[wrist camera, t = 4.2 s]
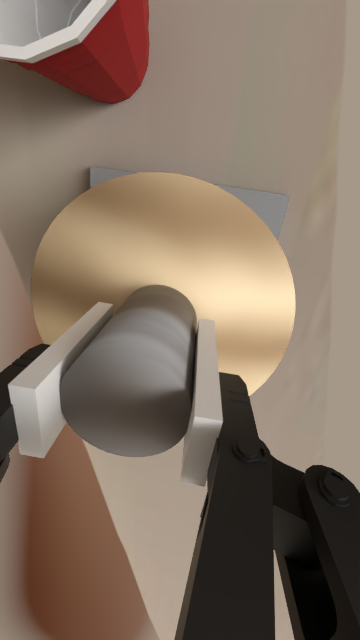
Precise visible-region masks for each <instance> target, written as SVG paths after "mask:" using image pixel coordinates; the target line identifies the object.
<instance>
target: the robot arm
mask: <svg viewBox="0 0 360 640" xmlns="http://www.w3.org/2000/svg"><path fill="white" fill-rule="evenodd" d="M112 316H113V304H109V303H103V302H98V303H97V304H96V305H94V306H93V307H92V308H91V309H90V310H89V311H88V312H87V313H86V314H85V315H84V316H82V317H81V318H80V319H79V320H78V321H77V322H76V323H75V324H74V325H73V326H71V327H70V328H69V329H68V330H67V331H66V332H65V333H64V334H63V335H62V336H61V337H59V338H58V339H57V340H56V341H55V342H54V343H53V344H52V345H48V344H40V345H38V346H35V347H33V348H31V349H29V350H27V351H26V352H25V353H24V354H23V355H21V356H20V358H19V359H16V360H15V361H14V362H13V363H12V365H9V366H8V367H7V368H6V369H4V370H3V371H2V372H1V373H0V482H1V481H2V478H3V476H4V475H5V472H6V470H7V468H8V465H9V462H10V458H9V452H10V450H11V449H12V448H13V447H14V445H15V444H16V443H17V442H18V446H19V451H20V454H23V455H29V456H34V457H40V458H44V457H45V455H46V453H47V452H48V450H49V449H50V447H51V446H52V444H53V442H54V441H55V439H56V437H57V436H58V434H59V433H60V431H61V430H62V428H63V427H64V425H65V424H66V422H67V421H66V420H65V418H64V416H63V414H62V412H61V406H60V392H59V387H60V383H61V381H62V378H63V377H64V375H65V373H66V372H67V371H68V369H69V368H70V367H71V366H72V365H73V363H74V362H75V361H76V360H77V359H78V357H79V356H80V355H81V354H82V352H83V351H84V350H85V349H86V348H87V346H88V345H89V344H90V343H91V342H92V340H93V339H94V338H95V337H96V336H97V334H98V333H99V332H100V331H101V330H102V328H103V327H104V326H105V325H106V324H107V322H108V321H109V320H110V319H111V317H112ZM206 480H207V482H208V492H207V495H206V499H205V502H204V506H203V509H202V513H201V516H200V517H201V521H200V525H199V530H198V534H197V539H196V544H195V548H194V553H193V557H192V562H191V566H190V571H189V576H188V580H187V585H186V589H185V594H184V598H183V603H182V608H181V612H180V617H179V621H178V626H177V630H176V635H175V640H275V608H274V553H273V549H274V550H275V553H276V557H277V562H278V566H279V571H280V575H281V580H282V584H283V589H284V593H285V598H286V602H287V607H288V612H289V616H290V621H291V625H292V630H293V634H294V639H295V640H360V493H359V492H358V490H357V489H356V487H355V486H354V484H352V483H351V482H350V481H349V480H348V479H347V478H346V477H345V476H344V475H342V474H341V473H339V472H337V471H335V470H334V469H332V468H329V467H326V466H323V465H312V466H311V467H309V468H308V469H306V471H305V473H304V472H301V471H299V470H297V469H295V468H293V467H290V466H288V465H286V464H284V463H282V462H280V461H279V460H277V459H276V458H274V457H273V456H272V455H271V454H270V451H269V449H268V448H267V446H266V445H265V443H264V442H263V441H261V440H260V439H259V437H258V433H257V429H256V424H255V420H254V416H253V411H252V407H251V404H250V399H249V396H248V390H247V386H246V383H245V382H244V381H243V380H242V378H241V377H240V376H239V375H235V374H229V373H223V372H219V370H218V358H217V346H216V335H215V323H214V320H209V319H202V318H199V322H198V327H197V333H196V345H195V361H194V377H193V393H192V408H191V415H190V420H189V425H188V430H187V432H186V434H185V437H184V448H183V460H182V472H181V482H183V483H188V484H194V485H200V486H205V484H206Z"/></svg>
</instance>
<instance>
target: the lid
mask: <svg viewBox="0 0 360 640" xmlns="http://www.w3.org/2000/svg"><path fill="white" fill-rule="evenodd" d="M31 302H32V308H33V313H34V318H35V321H36V324H37V328H38V331H39V333H40V336H41V338H42V340H43V342H44V344H48V345H52V344H53V343H54V342H55V341H56V340H57V339H58V338H59V337H61V336H62V335H63V334H64V333H65V332H66V331H67V330H68V329H69V328H70V327H71V326H73V325H74V324H75V323H76V322H77V321H78V320H79V319H80V318H81V317H82V316H84V315H85V314H86V313H87V312H88V311H89V310H90V309H91V308H92V307H93V306H94V305H96V304H97V303H98V302H103V303H109V304H113V316H112V317H111V319H110V320H109V321H108V322H107V324H106V325H105V326H104V327H103V328H102V330H101V331H100V332H99V333H98V334H97V336H96V337H95V338H94V339H93V340H92V342H91V343H90V344H89V345H88V346H87V348H86V349H85V350H84V351H83V352H82V354H81V355H80V356H79V357H78V359H77V360H76V361H75V362H74V363H73V365H72V366H71V367H70V368H69V369H68V371H67V372H66V373H65V375H64V377H63V378H62V381H61V383H60V387H59V392H60V406H61V412H62V414H63V416H64V418H65V420H66V421H67V422H68V424H69V426H70V427H71V428H72V429H73V430H74V431H75V432H76V433H77V434H78V435H79V436H80V437H81V438H82V439H84V440H85V441H86V442H88V443H89V444H91V445H93V446H95V447H97V448H98V449H101V450H103V451H106V452H109V453H112V454H116V455H120V456H127V457H145V456H152V455H155V454H159V453H162V452H164V451H166V450H168V449H170V448H172V447H173V446H174V445H176V444H177V443H178V442H179V441H180V440H181V439H182V438H183V437H184V435H185V434H186V432H187V430H188V425H189V420H190V415H191V408H192V393H193V377H194V361H195V345H196V333H197V327H198V322H199V318H202V319H209V320H214V323H215V335H216V346H217V358H218V370H219V372H223V373H229V374H235V375H239V376H240V377H241V378H242V380H243V381H244V382H245V383H246V386H247V390H248V396H250V395H251V394H252V393H254V392H255V391H256V390H257V389H258V388H259V387H260V386H261V385H262V384H263V383H264V382H265V381H266V380H267V379H268V378H269V376H270V375H271V374H272V373H273V372H274V370H275V369H276V367H277V366H278V364H279V362H280V361H281V359H282V357H283V355H284V353H285V351H286V348H287V346H288V344H289V341H290V337H291V334H292V330H293V326H294V318H295V290H294V284H293V278H292V274H291V271H290V268H289V265H288V262H287V259H286V257H285V255H284V253H283V251H282V249H281V247H280V245H279V243H278V241H277V239H276V238H275V236H274V235H273V234H272V232H271V231H270V229H269V228H268V226H267V225H266V224H265V223H264V222H263V221H262V220H261V219H260V218H259V217H258V215H257V214H256V213H255V212H254V211H253V210H252V209H251V208H249V207H248V206H247V205H245V204H244V203H243V202H242V201H240V200H239V199H238V198H236V197H235V196H233V195H232V194H230V193H228V192H226V191H225V190H223V189H221V188H219V187H218V186H215V185H213V184H210V183H208V182H205V181H202V180H200V179H197V178H193V177H189V176H184V175H180V174H176V173H162V172H147V173H135V174H129V175H125V176H121V177H117V178H113V179H110V180H108V181H105V182H103V183H101V184H98V185H96V186H94V187H92V188H90V189H89V190H87V191H86V192H84V193H82V194H81V195H79V196H78V197H76V198H75V199H74V200H73V201H72V202H71V203H69V204H68V205H67V206H66V207H65V208H64V209H63V210H62V211H61V212H60V213H59V214H58V216H57V217H56V218H55V219H54V220H53V222H52V223H51V225H50V226H49V228H48V229H47V231H46V233H45V234H44V236H43V238H42V240H41V243H40V245H39V248H38V250H37V252H36V256H35V260H34V264H33V268H32V277H31Z"/></svg>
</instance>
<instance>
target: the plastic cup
mask: <svg viewBox="0 0 360 640" xmlns="http://www.w3.org/2000/svg"><path fill="white" fill-rule="evenodd" d="M148 22H149V6H148V0H0V59H2V60H7V61H9V62H11V63H17V64H19V65H20V66H22V67H24V68H26V69H27V70H34V71H36V72H38V73H40V74H42V75H44V76H46V77H48V78H50V79H51V80H53V81H55V82H57V83H59V84H61V85H63V86H65V87H67V88H69V89H71V90H73V91H75V92H77V93H79V94H81V95H87V96H89V97H91V98H93V99H95V100H97V101H101V102H108V103H118V102H120V101H123V100H125V99H128V98H130V97H131V96H132V95H133V93H134V92H135V91H136V90H137V89H138V88H139V87H140V86H141V83H142V81H143V78H144V75H145V73H146V70H147V67H148V56H149V31H148Z"/></svg>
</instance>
